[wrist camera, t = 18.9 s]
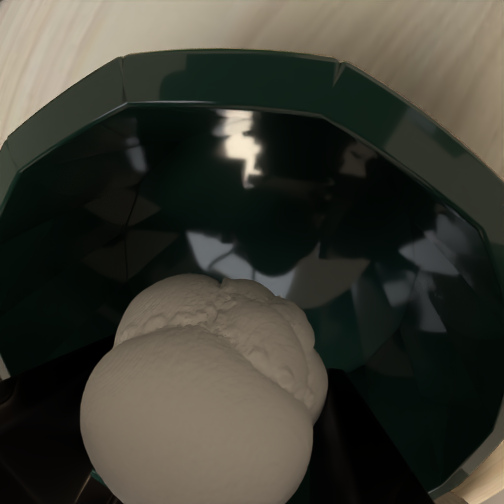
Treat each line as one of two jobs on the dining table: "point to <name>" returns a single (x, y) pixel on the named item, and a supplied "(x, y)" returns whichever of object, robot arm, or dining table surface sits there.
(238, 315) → the microfossil shell
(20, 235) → the pot
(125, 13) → the dining table surface
